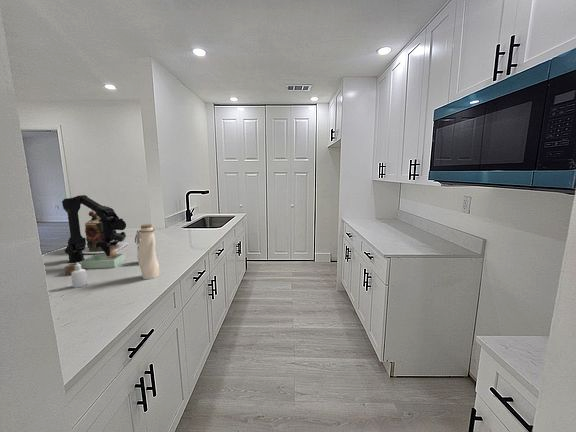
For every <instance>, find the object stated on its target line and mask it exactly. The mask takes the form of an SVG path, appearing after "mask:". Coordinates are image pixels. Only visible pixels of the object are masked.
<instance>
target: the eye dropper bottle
mask: <svg viewBox="0 0 576 432" xmlns="http://www.w3.org/2000/svg"><path fill="white" fill-rule="evenodd" d="M79 263H80V262H77V263H75V264H76V265H75V270H74V271H73V272H72V273H71V275H70V276H71V283H72V288H74V289H77V288H78V289H79V288H81V287H84V286H87V285H88V277H87V271H86V270H87V269H82V264H79Z"/></svg>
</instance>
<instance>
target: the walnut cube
mask: <svg viewBox="0 0 576 432" xmlns="http://www.w3.org/2000/svg"><path fill="white" fill-rule="evenodd" d="M78 263H79V264H81V262H78ZM75 265H76V263H70V264H69V263H68V265H66V266H64V271H65V272H64V273H65V276H71V273H72V272H73V271H74V270H75ZM81 265H82V264H81Z"/></svg>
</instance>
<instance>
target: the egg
mask: <svg viewBox="0 0 576 432" xmlns="http://www.w3.org/2000/svg"><path fill="white" fill-rule="evenodd" d="M116 254H117V251H116V250H115V245H112V246H111V247H110V256H107V255H106V258H115V257H116Z"/></svg>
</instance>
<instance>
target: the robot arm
mask: <svg viewBox="0 0 576 432" xmlns="http://www.w3.org/2000/svg"><path fill="white" fill-rule="evenodd" d="M61 204H62V208H63V210H64V211H65V212H66V213H67V219H68V220H67V221H68V227H69V234H70V237H69V238H68V241H67V246H66V247H65V249H64V253H65V254H67V255H68V261H67V264H69V263H70V264H76V263H77V262H78V263H81V261H83V260H85V259H86V258H85V257H84V254H83V253H82V251H83V250H85V249H86V247H87V241H86V237H83V236H82V234H81V233H82V232H81V226H80V219H79V218H80V216H79V211H80V209H81V205H83V206H85V207H87V208H89V209H90V210H91V211H92V210H93V211H95V212H96V215H97V216H99V217H100V218H101V219H100V220H99V221H98V222H102V230H103V232H101V234H103V239H102V241H99V242H97V243H96V244H95V245H96V247H101V249H102V250H103V251H104V252H105V254H106V255H107V256H110V247H111V246H112V245H115V248H116V244H118V243H123V241H125V239H126V237H127V235H126V232H125V231H124V230H125V229H126V228H127V223H126V222H125V220H124V218H120V217H119V215H118V214H117V213H116V212H115V210H114V209H113V208H111V207H110V206H106V205H102V204H100V203H98V202H96V201H95V200H94V199H91V198H90V197H88V195H85V194H82V195H81V194H80V195H76V196H73V197H67V198H63V200H62V201H61ZM117 231H122V232H117Z"/></svg>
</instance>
